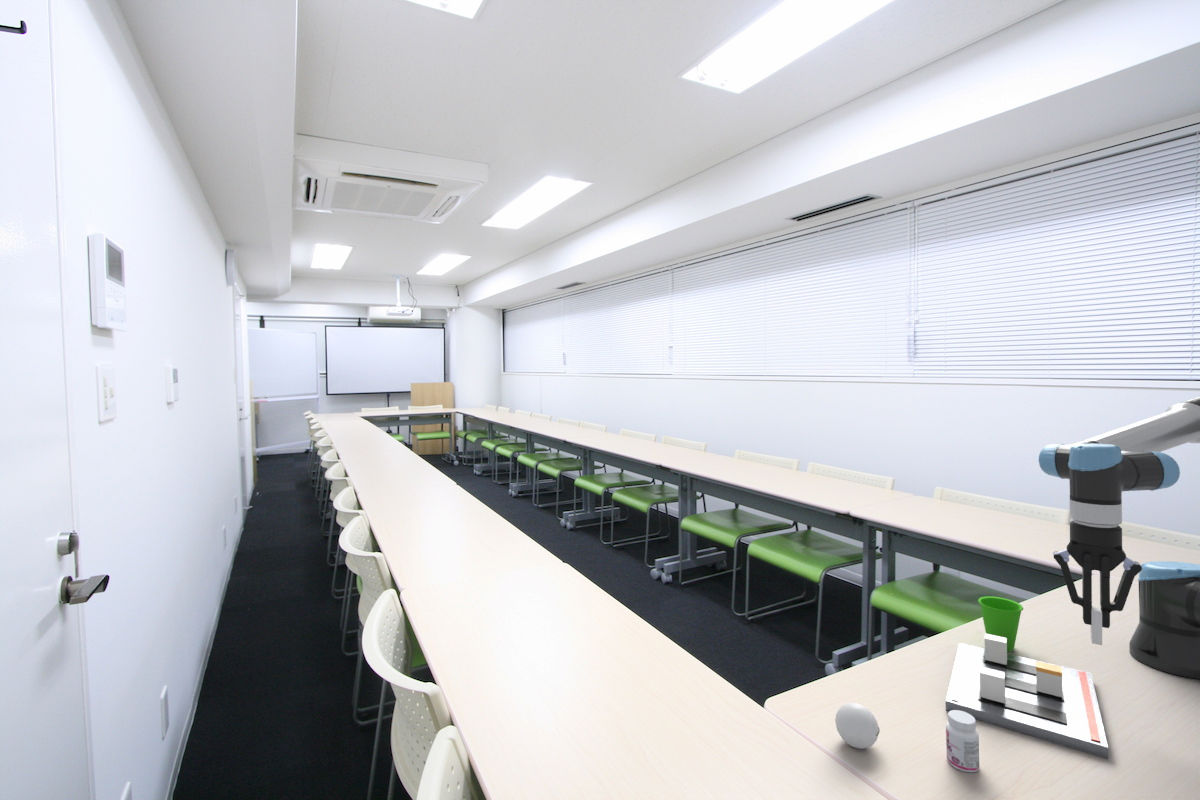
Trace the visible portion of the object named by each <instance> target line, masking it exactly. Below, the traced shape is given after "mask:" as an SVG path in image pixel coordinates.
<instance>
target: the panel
mask: <svg viewBox="0 0 1200 800" xmlns="http://www.w3.org/2000/svg"><path fill="white" fill-rule="evenodd" d="M1036 661H1039V662H1043V663H1047V664H1052V665H1056V666H1061V669H1062V697H1058V696H1055V695H1051V694H1047V693H1043V692H1039V691H1037V686H1036ZM981 666H982V667H986V668H990V669H994V670H998V671H1002V672H1005V703H1001V702H997V701H994V700H990V699H986V698H983V697H980V667H981ZM1093 681H1094V680H1093V676H1092V672H1091V671H1085V670H1081V669H1077V668H1076V669H1075V668H1072V667H1067V666H1063V665H1059V664H1055V663H1049V662H1045V661H1041V660H1036V659H1033V658H1028V657H1024V656H1020V655H1019V656H1018V655H1014V654H1010V653H1007V665H1005V664H1001V663H996V662H992V661H988V660H985V647H979V646H975V645H972V644H971V645H970V644H966V643H962V642H959V643H958V646H957V650H956V655H955V659H954V663H953V668H952V672H951V677H950V680H949V684H948V685H949V686H948V689H947V693H946V699H945V711H946V710H947V712H949V711H951V710H960V711H964V712H966V713H968V714H970V715H972V716H973V717H974V718H975V720H976V721H980V722H983V723H987V724H991V725H992V726H996V727H1000V728H1004V729H1006V730H1011V731H1014V732H1017V733H1021V734H1024V735H1027V736H1031V737H1033V738H1036V739H1041V740H1044V741H1047V742H1050V743H1054V744H1056V745H1060V746H1064V747H1068V748H1071V749H1075V750H1076V751H1077V750H1078V751H1081V752H1085V753H1087V754H1090V755H1094V756H1098V757H1101V758H1105V759H1109V744H1108V741H1107V737H1106V732H1105V727H1104V723H1103V719H1102V714H1101V710H1100V706H1099V703H1098V698H1097V693H1096V690H1095V689H1096V688H1095V685H1094V682H1093Z"/></svg>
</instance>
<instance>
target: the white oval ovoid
mask: <svg viewBox="0 0 1200 800" xmlns="http://www.w3.org/2000/svg"><path fill="white" fill-rule="evenodd" d="M834 718H835V719H834V720H835V728H836V731H837V732H838V734H839V736H840V738H841V739H842V740H843V741H844V742H845V743H846V744H848V746H851V747H852V748H855V749H863V750H864V749H868V748H870V747H872V746H873V745H874V744H875V743H876V742H877V740H878V738H879V734H880V732H881V731H880V727H879V724H878V720H877V718H876V717H875V715H874V713H872V711H871V710H869V708H867V707H866V706H865V705H863V704H860V703H857V702H847V703H845V704H843V705H841V706H840V707H839V708H838V709H837V712H836V713H835V717H834Z"/></svg>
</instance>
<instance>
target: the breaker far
mask: <svg viewBox="0 0 1200 800" xmlns="http://www.w3.org/2000/svg"><path fill="white" fill-rule="evenodd" d="M984 633H985V634H984V648H985V660H988V661H992V662H996V663H1001V664H1005V665H1007V654H1008V652H1007V638H1005V637H1000V636H995V635H991V634H986V632H984Z"/></svg>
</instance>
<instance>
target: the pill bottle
mask: <svg viewBox="0 0 1200 800" xmlns="http://www.w3.org/2000/svg"><path fill="white" fill-rule="evenodd" d="M976 721H977V720H976V719H975V718H974V717H973V716H972V715H970V714H968V713H966V712H964V711H960V710H951V711H948V713H947V723H946V724H945V741H946V742H945V744H946V747H945V749H946V760H947V762H948V763H949V765H951V766H952V767H953V768H955V769H957V770H959V771H962V772H964V773H976V772H978V771H979V770H980V736H979V732H978V729H977V723H976Z"/></svg>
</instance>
